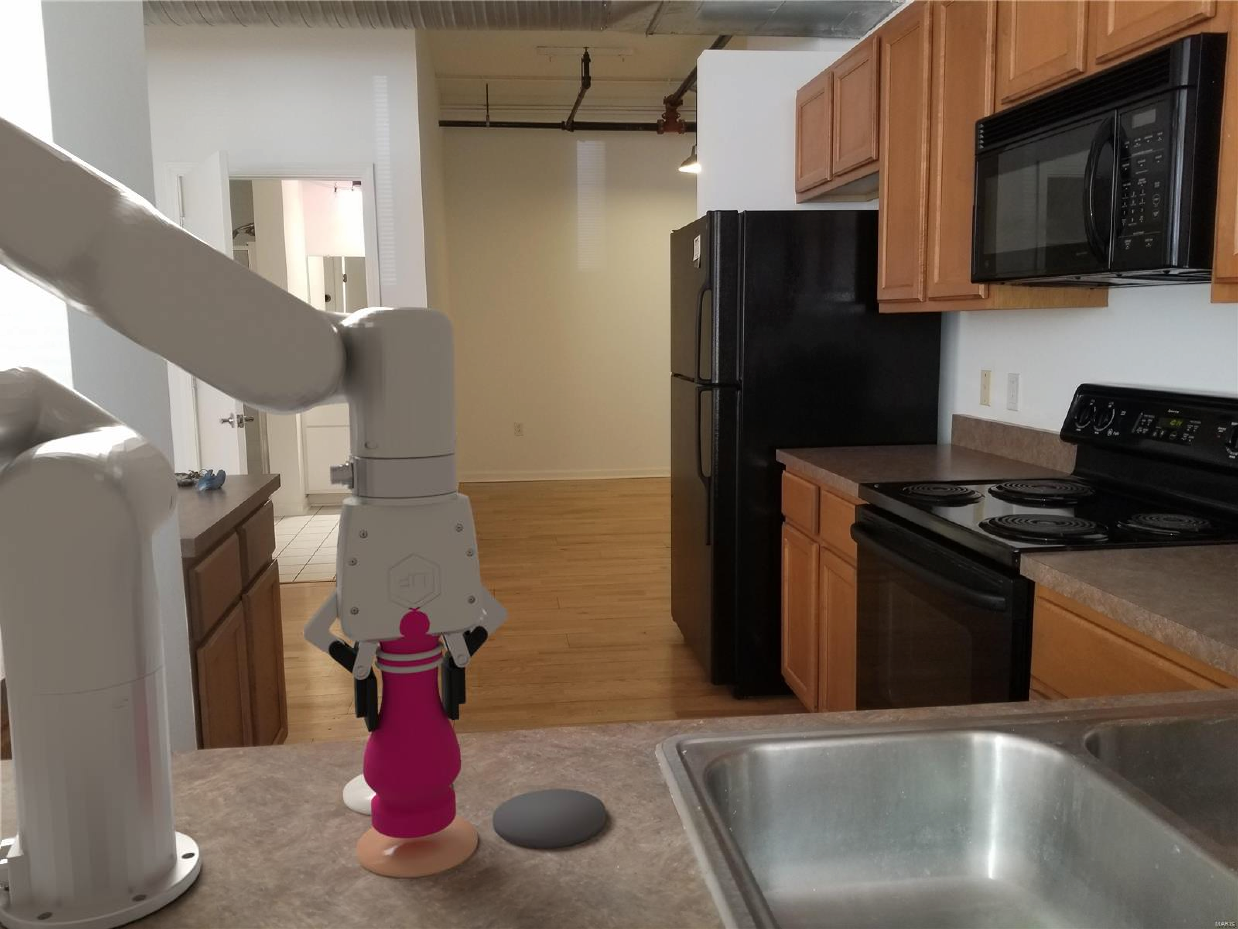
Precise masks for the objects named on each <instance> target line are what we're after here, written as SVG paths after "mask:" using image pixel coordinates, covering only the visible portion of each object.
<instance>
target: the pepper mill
mask: <svg viewBox="0 0 1238 929" xmlns="http://www.w3.org/2000/svg"><path fill="white" fill-rule="evenodd" d="M419 608H420V607H417V608H415V609H414V608H412V607H410V608H408V609H410V610H412V611H410V612H409V613H407V614H405V615H404V616H403V618H402V619H401V622H400V627H399V630H400V633H401V635H403V637H400V638H398V639H397V640H391V641H381V642H378V645H377V649H376V652H375V655H376V656H375V657H376V658H375V661H374V666H375V667H376V668H377V669H379V670H380V673H381V682H382V686H381V687H382V688H381V702H380V705H379V706H380V707H379V710H378V720H379V729H376V731H374V732H370V736H369V738H368V740H367V743H366V746H365V749H364V750H365V751H364V754H363V764H362V765H363V766H362V772H363V773H362V774H363V775H364V779H365V781H366V783H367V784H368V786H369V787H370V788H371V789H372V790H373V791H374V792H375V793H376V795H375V796H374V797H373V798H372V800H371V815H370V816H371V817H370V818H371V825H372V827H374V829H375V830H376V831H378V832H379V833H380V834H383V835H385V836H388V837H394V838H417V837H423V836H427V835H431V834H434V833H437V832H439V831H441V830H443V829H445V828H446V827H447V826H449V825H450V824H451V823H452V822H453V820H454V818H455V816H457V800H456V798H457V797H456V792H455V790H454V789H453V788H452V784H453V783H454V782H455V781H456V779H457V777H458V776H459V774H460V772H461V768H462V756H461V747H460V744H459V740H458V737H457V734H456V731H455V730H454V728H453V725H452V723H451V721H450V719H449V718H448V717H447V715H446V712H445V710H444V708H443V705H442V697H441V694H440V688H439V666H441V664H442V662H443V661H444V657H445V655H443V654H444V653H443V651H444V646H445V644H444V642H442V641H441V640H440V637H442V636H441V635H438V636H432V635H429V634H426V633H427V632H428V631H429V628H430V621H429V619H428V617H427V615H426V614H425V613H423V612H421V611H417V610H418V609H419ZM450 785H451V787H450Z"/></svg>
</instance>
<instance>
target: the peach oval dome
mask: <svg viewBox="0 0 1238 929" xmlns="http://www.w3.org/2000/svg"><path fill="white" fill-rule="evenodd" d="M478 836H479V835H478V831H477V829H476V827H475V825H473V824H472V822H471V821H468V820H467V819H466V818H463V817H461V816H458V815H456V816H455V818H454V820H453V822H452V823H451V824H450V825H449V826H447V827H446V828H445V829H443V830H441V831H439V832H437V833H434V834H431V835H427V836H423V837H417V838H394V837H388V836H385V835H383V834H380V833H379V832H378V831H376V830H375V829H374V827H373V826H372V827H370V828H369V829H368V830H367V831H365V832H364V833H363V834H362V835H361V836H360V838H359V839H358V841H357V843H356V849H355V850H356V851H355V852H356V858H357V861H358V863H359V864H360V865H361V867H363V868H365V869H366V870H368V871H370V872H372V873H373V874H377V875H380V876H384V877H389V878H390V877H392V878H418V877H419V878H420V877H425V876H430V875H435V874H438V873H442V872H444V871H447V870H449V869H451V868H454V867H456V866H458V865H460V864H462V863H464V861H466V860H467V859H468V858H470V856H471V855H473V853H474V852H475V850H476V848H477V846H478V843H479V841H478Z"/></svg>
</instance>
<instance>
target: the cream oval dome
mask: <svg viewBox="0 0 1238 929" xmlns="http://www.w3.org/2000/svg"><path fill="white" fill-rule="evenodd" d="M450 787H451V788H452V784H451V785H450ZM375 795H376V793H375V792H374V791H373V790H372V789H371V788H370V787H369V786H368V784H367V783H366V781H365V779H364V775H363V773H362V774H361V773H360V774H359V775H357V776H355V777H354V778H352V779H351V780H350V781H349V782H348V783H347V784H346V785H345V786H344V787H343V791H342V799H343V801H342V802H343V804H345V806H346V807H347V808H349V809H350V810H351V811H353V812H355V813H359V814H363V815H366V816H371V800H372V798H373V797H374V796H375Z"/></svg>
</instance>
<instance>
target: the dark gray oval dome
mask: <svg viewBox="0 0 1238 929" xmlns="http://www.w3.org/2000/svg"><path fill="white" fill-rule="evenodd" d="M606 822H607V808H606V806H605V804H604V802H603V801H602V800H601V799H600V798H598V797H597V796H595V795H592V794H591V793H587V792H584V791H582V790H581V791H579V790H576V789H575V790H574V789H566V788H565V789H564V788H563V789H562V788H561V789H559V788H553V789H552V788H550V789H541V790H535V791H530V792H525V793H522V794H519V795H516V796H513V797H511V798H509V799H507V800H505V801H504V802H502V803H500V804H499V805H498V806H497V807H496V808H495V810H494V812H493V814H492V826H493V829H494V832H495V834H497V836H498V837H499V838H501V839H502V840H504V841H505V842H506V843H507V842H508V843H510V844H511V845H515V846H519V847H522V848H528V849H538V850H539V849H546V850H547V849H557V848H563V847H568V846H572V845H577V844H579V843H581V842H585V841H587V840H590V839H591V838H593V837H594V836H595V837H596V835H597V834H598V833H600V832H602V830H603V829H604V827H605V826H606Z"/></svg>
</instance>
